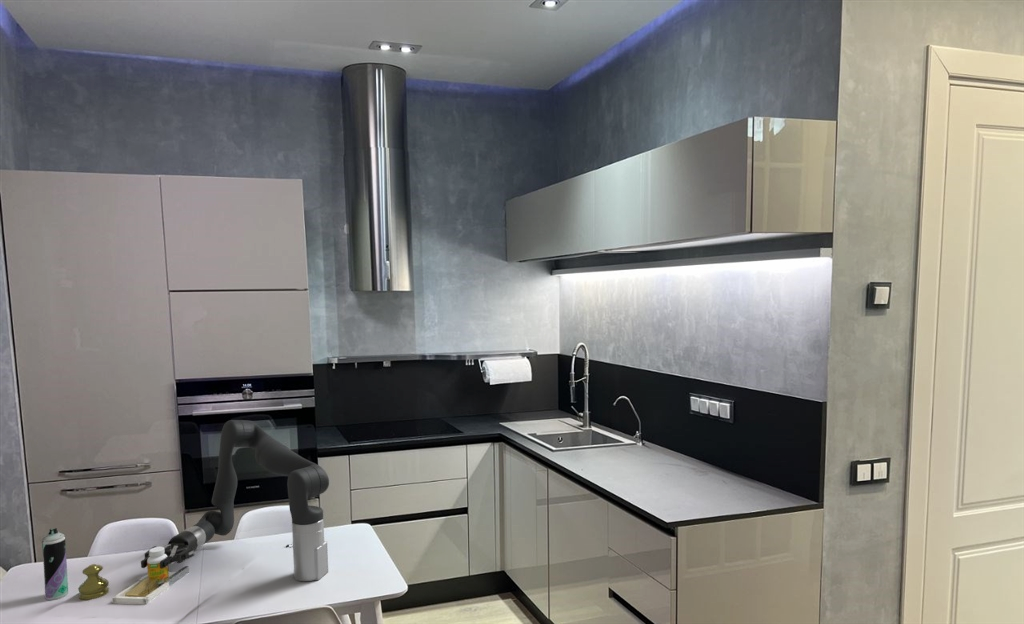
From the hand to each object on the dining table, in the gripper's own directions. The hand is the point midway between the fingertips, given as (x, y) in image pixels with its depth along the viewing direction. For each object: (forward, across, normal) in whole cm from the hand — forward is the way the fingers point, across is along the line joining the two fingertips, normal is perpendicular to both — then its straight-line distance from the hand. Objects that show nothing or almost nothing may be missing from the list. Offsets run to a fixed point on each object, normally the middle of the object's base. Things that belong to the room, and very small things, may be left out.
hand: (151, 565), depth 191 cm
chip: (+2, 0, +7) cm, 7 cm away
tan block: (+7, 0, +8) cm, 10 cm away
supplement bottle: (-3, 0, +6) cm, 7 cm away
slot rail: (-5, 0, +8) cm, 10 cm away
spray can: (+4, -28, +8) cm, 29 cm away
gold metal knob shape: (+5, -15, +8) cm, 18 cm away
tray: (+5, 0, +8) cm, 9 cm away
